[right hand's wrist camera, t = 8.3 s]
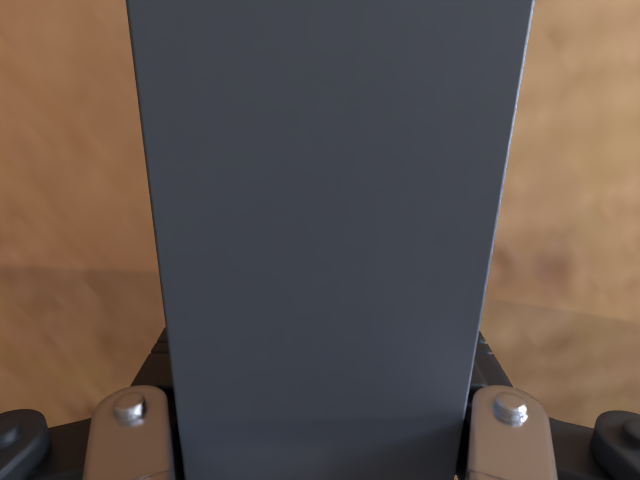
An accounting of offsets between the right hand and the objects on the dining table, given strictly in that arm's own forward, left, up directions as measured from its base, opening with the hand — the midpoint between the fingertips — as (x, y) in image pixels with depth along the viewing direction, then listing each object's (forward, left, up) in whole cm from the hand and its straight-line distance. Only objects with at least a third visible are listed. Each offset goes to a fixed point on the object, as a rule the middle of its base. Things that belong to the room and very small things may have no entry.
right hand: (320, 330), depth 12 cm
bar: (+21, -15, -3) cm, 26 cm away
